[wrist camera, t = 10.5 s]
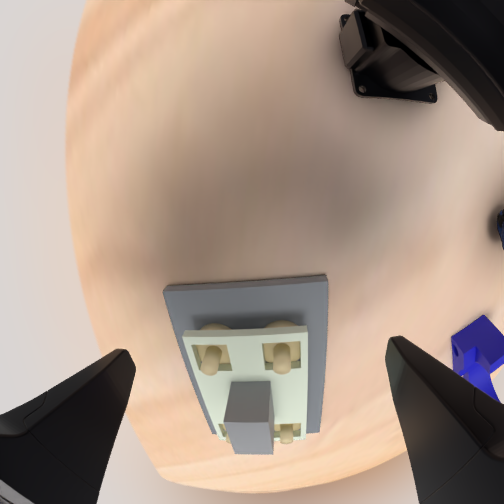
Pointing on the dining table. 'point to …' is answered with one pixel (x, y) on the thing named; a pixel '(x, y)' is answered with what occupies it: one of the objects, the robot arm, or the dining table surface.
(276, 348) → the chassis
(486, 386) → the blue u-shaped cradle
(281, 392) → the board
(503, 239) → the flashlight
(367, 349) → the dining table surface
